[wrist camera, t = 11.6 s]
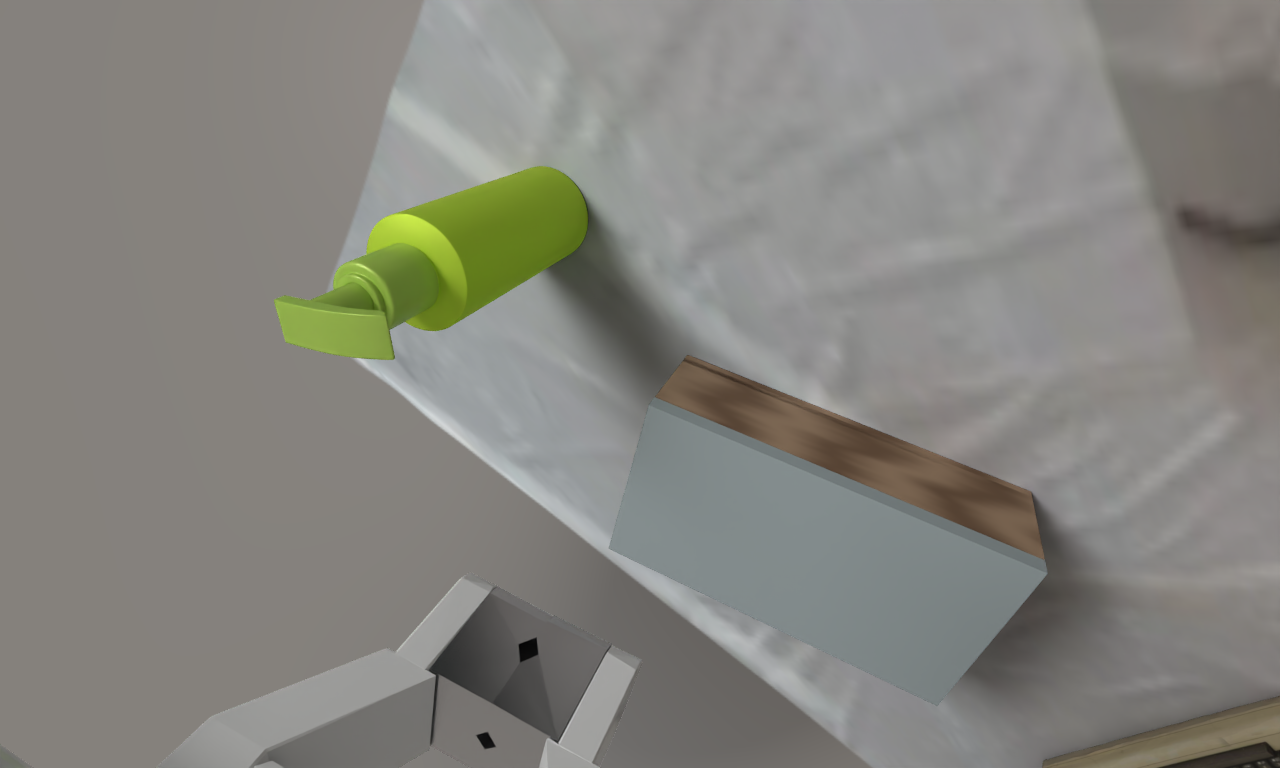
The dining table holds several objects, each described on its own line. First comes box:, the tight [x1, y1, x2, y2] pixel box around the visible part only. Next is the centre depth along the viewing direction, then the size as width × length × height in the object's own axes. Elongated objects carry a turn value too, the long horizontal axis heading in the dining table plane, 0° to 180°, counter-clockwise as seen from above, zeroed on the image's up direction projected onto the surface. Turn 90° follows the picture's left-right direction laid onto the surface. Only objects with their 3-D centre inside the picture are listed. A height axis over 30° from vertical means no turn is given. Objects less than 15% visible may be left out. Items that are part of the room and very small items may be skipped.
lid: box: [609, 397, 1048, 706], centre depth 38 cm, size 22×12×1 cm, turn 76°
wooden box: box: [655, 355, 1045, 560], centre depth 41 cm, size 22×12×6 cm, turn 76°
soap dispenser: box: [274, 166, 588, 360], centre depth 34 cm, size 6×7×20 cm
